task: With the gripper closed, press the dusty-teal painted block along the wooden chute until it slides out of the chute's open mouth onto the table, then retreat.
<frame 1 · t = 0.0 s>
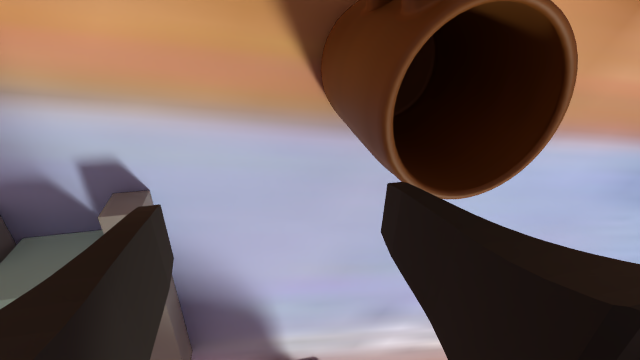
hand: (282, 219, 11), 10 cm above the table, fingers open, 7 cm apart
mug: (364, 27, 18), on the table
block: (66, 293, 19), point 3 cm above the table, slide at 0.0 cm
chute: (93, 286, 22), on the table
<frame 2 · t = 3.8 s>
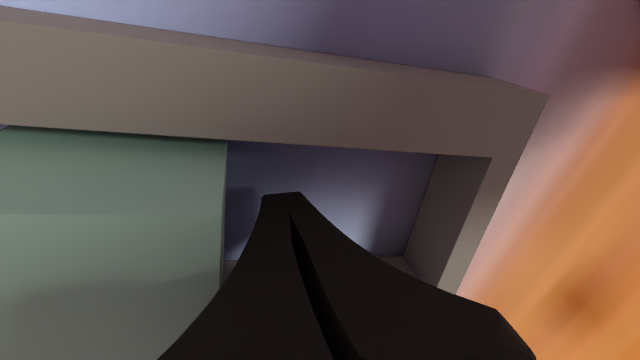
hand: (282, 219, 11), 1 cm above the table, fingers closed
block: (123, 240, 8), point 3 cm above the table, slide at 0.8 cm, touching gripper
chute: (233, 194, 11), on the table
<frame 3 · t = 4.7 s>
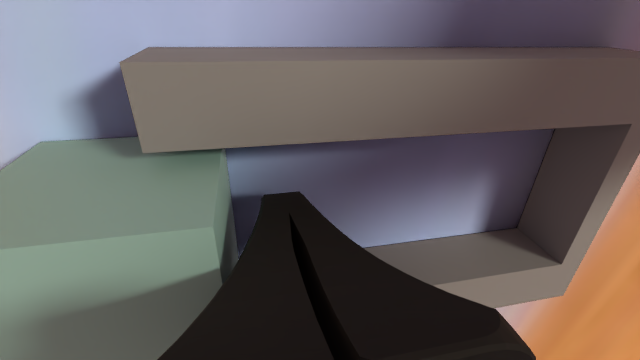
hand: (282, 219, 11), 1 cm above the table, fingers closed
block: (134, 257, 9), point 2 cm above the table, slide at 5.9 cm, touching gripper
chute: (374, 186, 13), on the table
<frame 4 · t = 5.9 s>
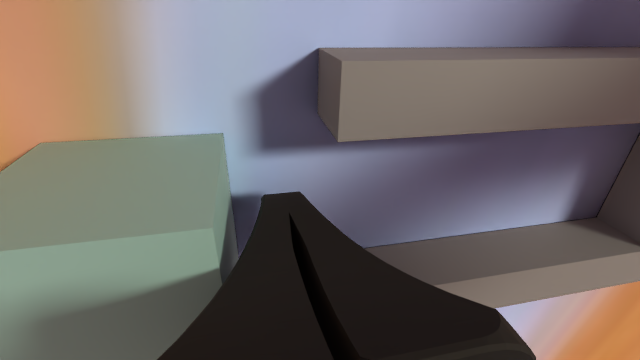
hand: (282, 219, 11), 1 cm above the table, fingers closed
block: (134, 258, 9), point 2 cm above the table, slide at 10.5 cm, touching gripper
chute: (481, 177, 13), on the table
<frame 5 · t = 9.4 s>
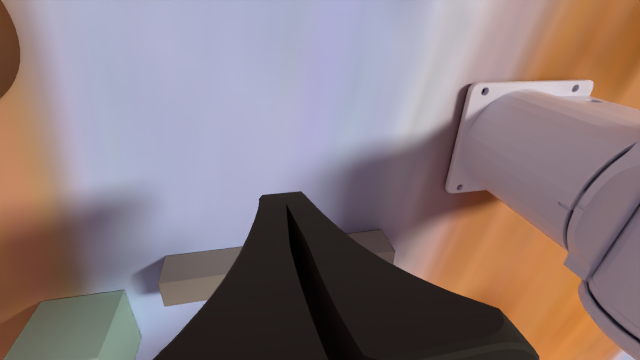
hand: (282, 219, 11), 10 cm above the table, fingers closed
block: (80, 353, 21), point 3 cm above the table, slide at 10.6 cm
chute: (273, 293, 26), on the table
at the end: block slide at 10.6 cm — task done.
